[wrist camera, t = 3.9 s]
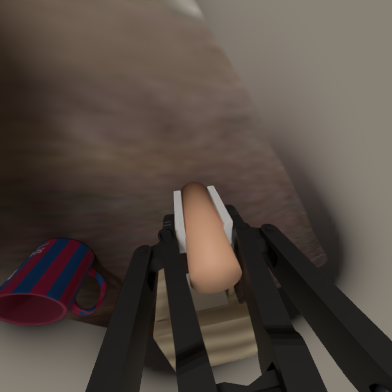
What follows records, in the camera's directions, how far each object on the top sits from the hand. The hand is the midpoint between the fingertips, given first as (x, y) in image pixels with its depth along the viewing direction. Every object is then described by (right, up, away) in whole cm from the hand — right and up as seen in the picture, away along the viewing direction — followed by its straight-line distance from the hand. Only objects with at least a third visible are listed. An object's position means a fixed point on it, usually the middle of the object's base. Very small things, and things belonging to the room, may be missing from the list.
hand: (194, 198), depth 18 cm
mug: (-17, -9, +4) cm, 20 cm away
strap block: (+1, -8, +6) cm, 10 cm away
